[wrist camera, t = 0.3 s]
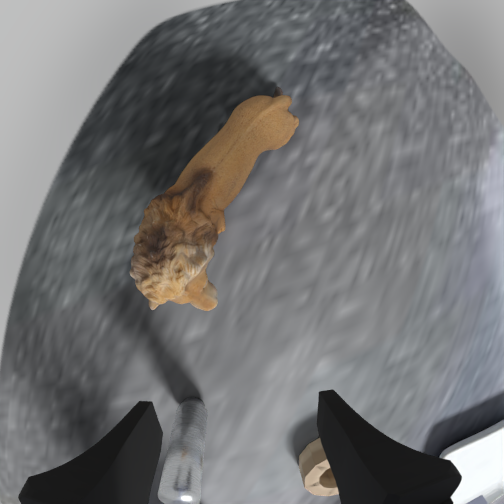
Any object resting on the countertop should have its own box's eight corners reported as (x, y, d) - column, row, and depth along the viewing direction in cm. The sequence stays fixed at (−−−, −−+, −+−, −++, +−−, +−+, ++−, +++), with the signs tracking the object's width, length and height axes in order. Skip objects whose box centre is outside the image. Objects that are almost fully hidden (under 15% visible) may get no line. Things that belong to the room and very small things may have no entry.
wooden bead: (317, 483, 25) (324, 502, 22) (286, 455, 24) (291, 477, 21) (371, 452, 25) (381, 471, 22) (346, 421, 24) (357, 441, 21)
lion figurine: (213, 291, 22) (201, 346, 13) (145, 257, 21) (91, 289, 12) (309, 107, 20) (355, 51, 11) (242, 73, 20) (250, 1, 11)
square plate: (429, 438, 26) (445, 457, 22) (552, 371, 27) (566, 380, 23) (383, 540, 30) (390, 556, 26) (500, 482, 31) (509, 492, 27)
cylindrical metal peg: (191, 420, 23) (177, 512, 13) (172, 402, 23) (149, 492, 13) (214, 409, 23) (208, 503, 13) (195, 389, 22) (179, 482, 13)
